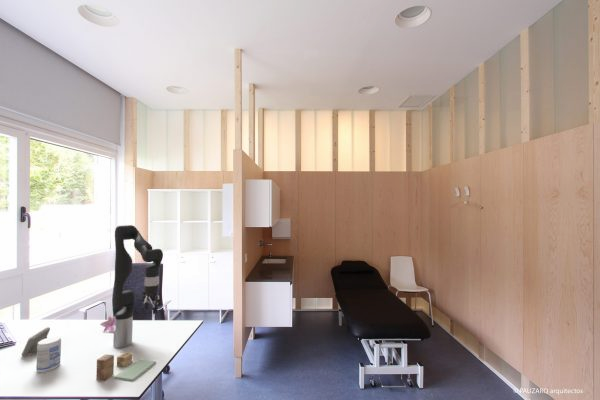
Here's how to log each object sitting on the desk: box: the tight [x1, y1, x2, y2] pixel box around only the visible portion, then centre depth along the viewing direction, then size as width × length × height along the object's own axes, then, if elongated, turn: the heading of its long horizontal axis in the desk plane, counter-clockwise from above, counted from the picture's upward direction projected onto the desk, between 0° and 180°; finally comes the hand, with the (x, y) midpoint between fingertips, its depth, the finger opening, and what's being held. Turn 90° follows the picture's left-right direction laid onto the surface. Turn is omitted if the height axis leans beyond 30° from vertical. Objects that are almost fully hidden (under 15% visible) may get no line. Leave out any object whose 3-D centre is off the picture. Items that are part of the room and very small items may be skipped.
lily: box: [99, 315, 115, 334], centre depth 190 cm, size 12×12×10 cm
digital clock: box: [21, 326, 51, 358], centre depth 163 cm, size 16×9×11 cm, turn 2°
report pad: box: [113, 358, 157, 382], centre depth 143 cm, size 11×16×1 cm
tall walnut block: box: [95, 354, 115, 382], centre depth 137 cm, size 5×5×10 cm
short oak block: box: [116, 351, 133, 368], centre depth 149 cm, size 5×5×5 cm
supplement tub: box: [35, 335, 62, 373], centre depth 145 cm, size 10×10×15 cm
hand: (150, 311), depth 156 cm, fingers open, 8 cm apart
